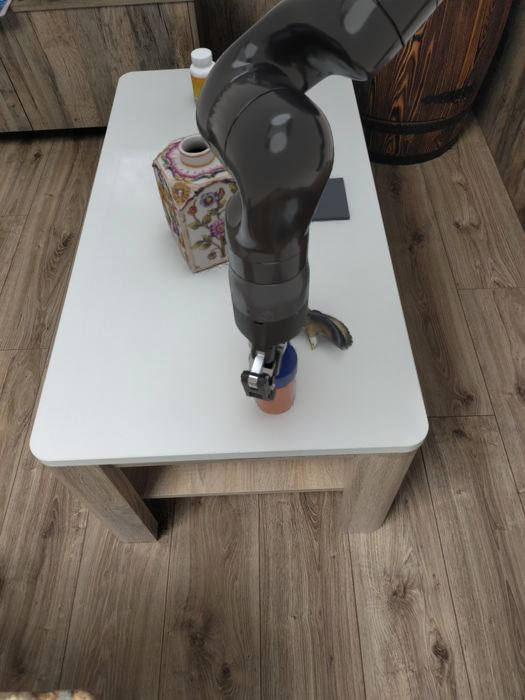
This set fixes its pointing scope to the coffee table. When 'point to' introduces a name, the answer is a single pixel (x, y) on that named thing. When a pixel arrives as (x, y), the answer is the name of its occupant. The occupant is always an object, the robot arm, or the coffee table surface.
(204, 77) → the supplement bottle
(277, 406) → the jar
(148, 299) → the coffee table surface
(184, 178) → the decorative jar
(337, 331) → the brown animal figure
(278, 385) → the jar lid
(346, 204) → the coaster
